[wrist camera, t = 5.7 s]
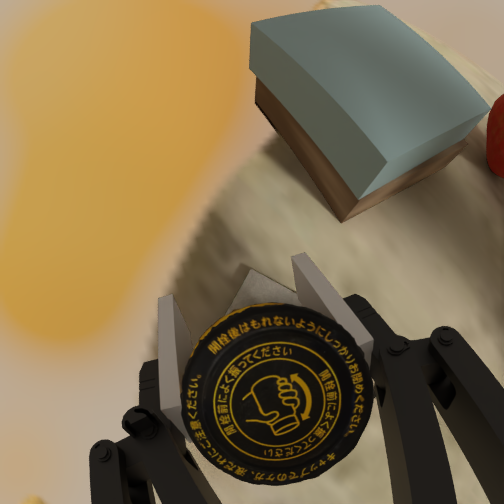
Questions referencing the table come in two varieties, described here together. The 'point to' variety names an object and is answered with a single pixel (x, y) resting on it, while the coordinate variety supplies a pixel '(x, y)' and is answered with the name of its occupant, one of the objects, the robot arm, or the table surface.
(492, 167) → the apple
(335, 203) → the tower base
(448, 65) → the tower top
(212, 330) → the condiment
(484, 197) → the table surface
